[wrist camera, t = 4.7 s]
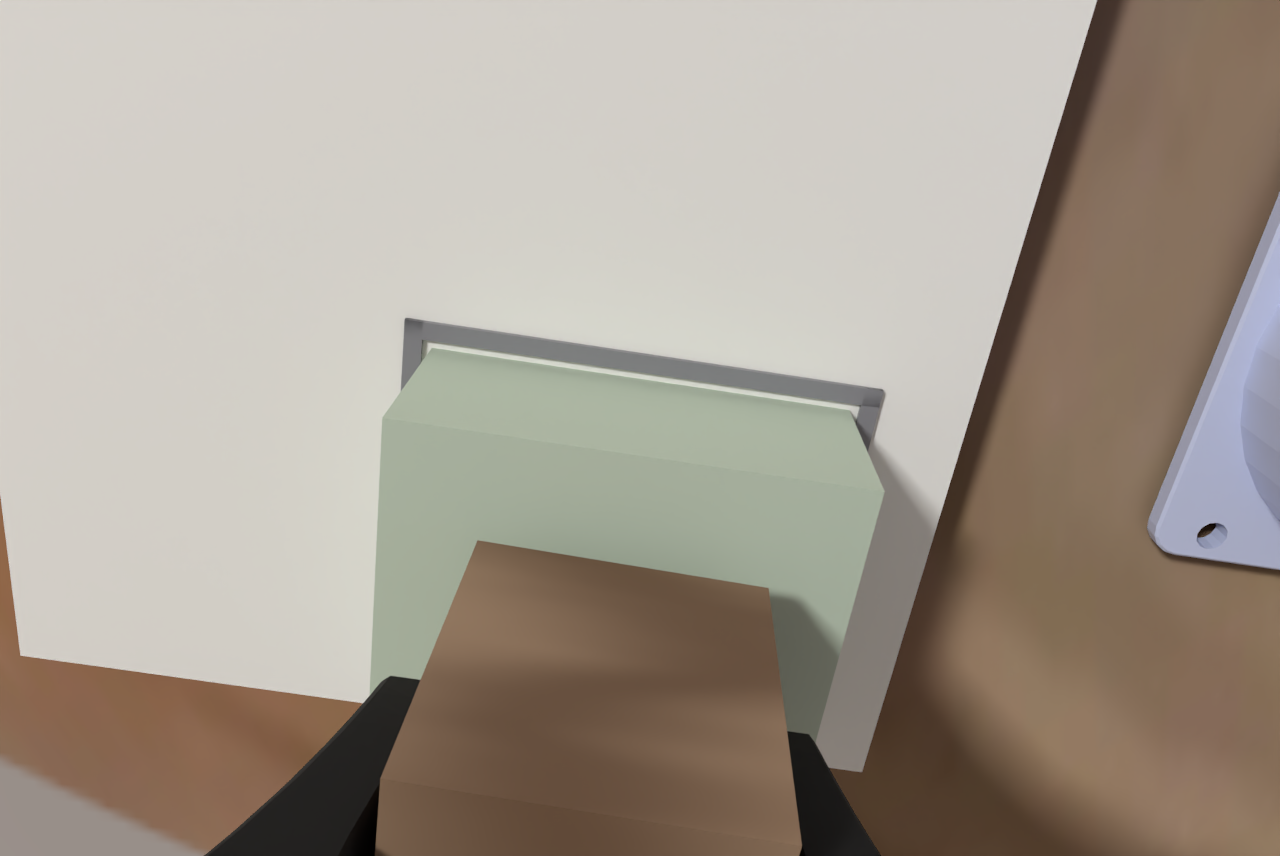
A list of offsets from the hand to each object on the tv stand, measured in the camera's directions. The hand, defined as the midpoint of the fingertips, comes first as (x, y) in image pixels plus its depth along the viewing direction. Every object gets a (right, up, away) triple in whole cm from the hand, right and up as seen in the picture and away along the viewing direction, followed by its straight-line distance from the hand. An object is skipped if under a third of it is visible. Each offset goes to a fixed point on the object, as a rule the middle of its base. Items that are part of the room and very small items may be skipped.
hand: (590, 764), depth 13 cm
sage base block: (0, +2, +5) cm, 5 cm away
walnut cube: (0, +1, +1) cm, 1 cm away
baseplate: (-2, +7, +4) cm, 8 cm away
